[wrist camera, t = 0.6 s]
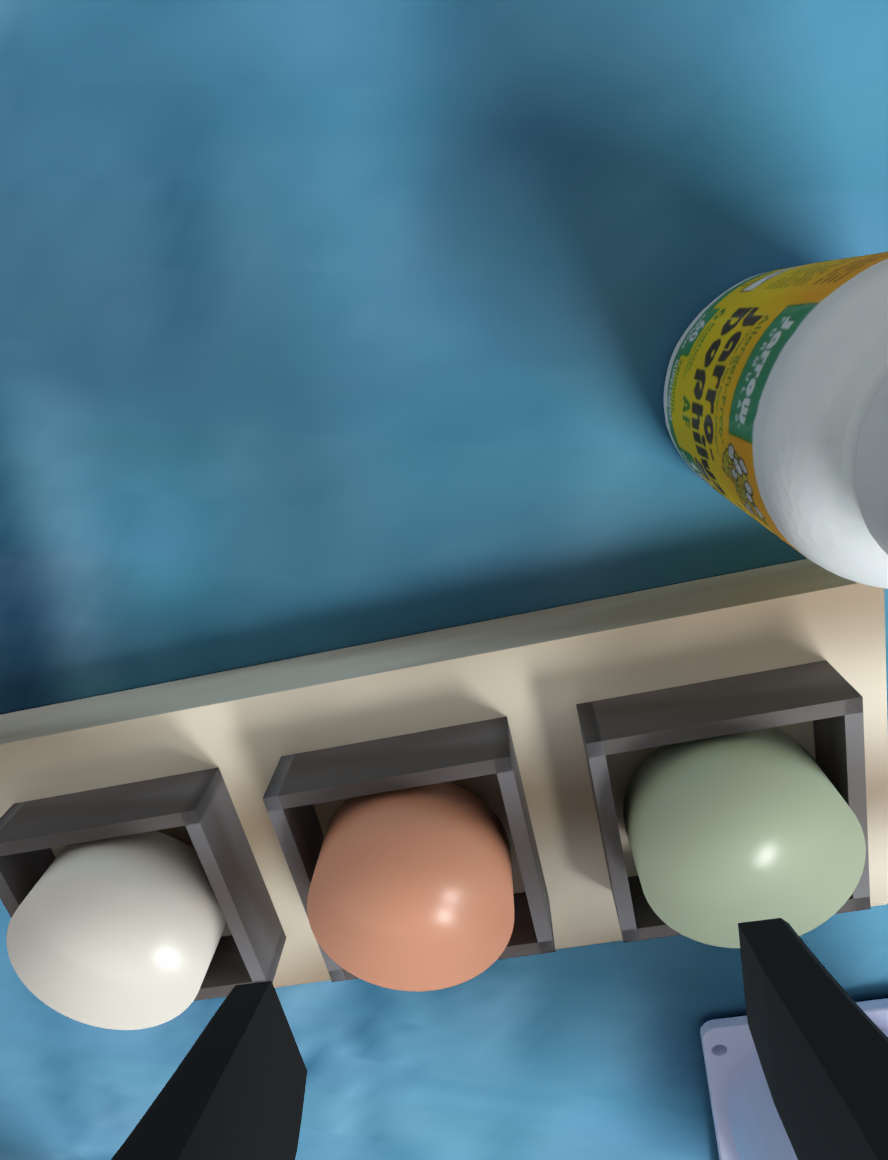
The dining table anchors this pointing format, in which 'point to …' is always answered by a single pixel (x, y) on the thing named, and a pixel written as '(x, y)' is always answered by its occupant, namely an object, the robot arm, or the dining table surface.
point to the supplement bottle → (794, 408)
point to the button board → (460, 751)
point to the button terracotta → (413, 888)
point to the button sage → (741, 836)
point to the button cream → (118, 931)
